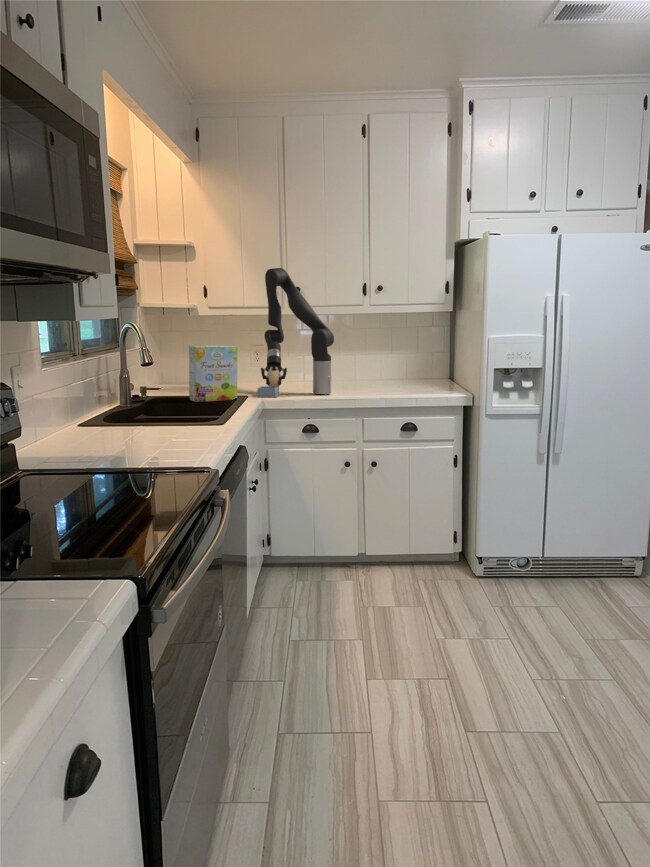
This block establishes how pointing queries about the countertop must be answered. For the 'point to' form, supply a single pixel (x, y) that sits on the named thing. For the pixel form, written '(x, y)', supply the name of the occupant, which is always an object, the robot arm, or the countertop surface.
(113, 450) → the countertop surface
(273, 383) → the paper roll
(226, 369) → the snack box
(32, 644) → the countertop surface
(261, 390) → the roll holder
